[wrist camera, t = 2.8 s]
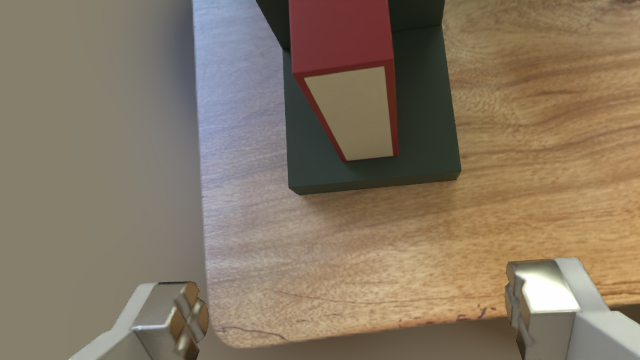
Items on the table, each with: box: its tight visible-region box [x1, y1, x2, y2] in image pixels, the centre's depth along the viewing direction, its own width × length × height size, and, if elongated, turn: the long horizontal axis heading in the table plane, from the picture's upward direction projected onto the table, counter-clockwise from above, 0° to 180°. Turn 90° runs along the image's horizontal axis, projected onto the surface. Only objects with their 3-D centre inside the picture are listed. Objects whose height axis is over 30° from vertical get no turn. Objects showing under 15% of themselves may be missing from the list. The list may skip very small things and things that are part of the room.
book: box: [288, 0, 399, 162], centre depth 24 cm, size 4×8×14 cm, turn 4°
